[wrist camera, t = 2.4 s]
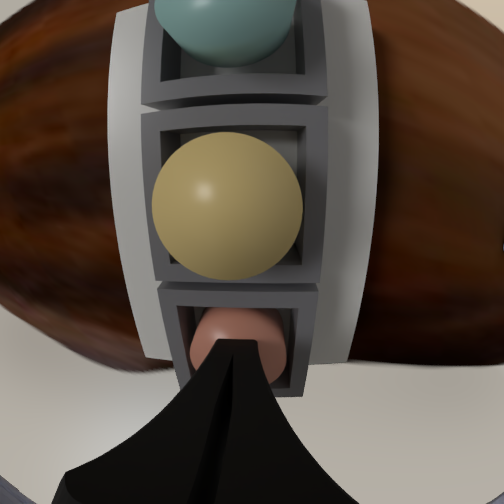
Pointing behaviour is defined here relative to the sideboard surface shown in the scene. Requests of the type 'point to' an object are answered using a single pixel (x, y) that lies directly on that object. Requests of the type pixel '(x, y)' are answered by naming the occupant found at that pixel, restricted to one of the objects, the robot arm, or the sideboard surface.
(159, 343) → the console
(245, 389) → the robot arm
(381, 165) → the sideboard surface
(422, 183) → the sideboard surface
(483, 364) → the sideboard surface
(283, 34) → the teal button
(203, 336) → the brick button
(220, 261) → the ochre button
